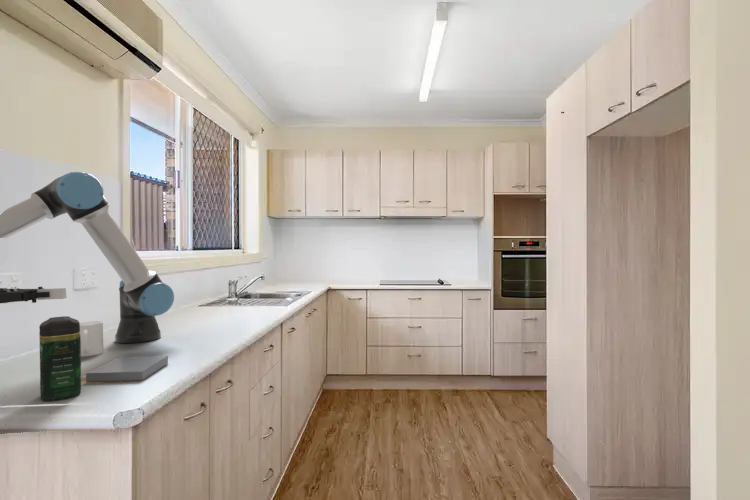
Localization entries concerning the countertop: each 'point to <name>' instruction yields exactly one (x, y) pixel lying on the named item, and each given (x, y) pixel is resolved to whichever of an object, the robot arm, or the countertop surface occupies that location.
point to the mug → (91, 338)
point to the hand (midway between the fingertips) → (64, 293)
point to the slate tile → (127, 369)
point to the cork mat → (83, 381)
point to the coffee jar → (60, 358)
